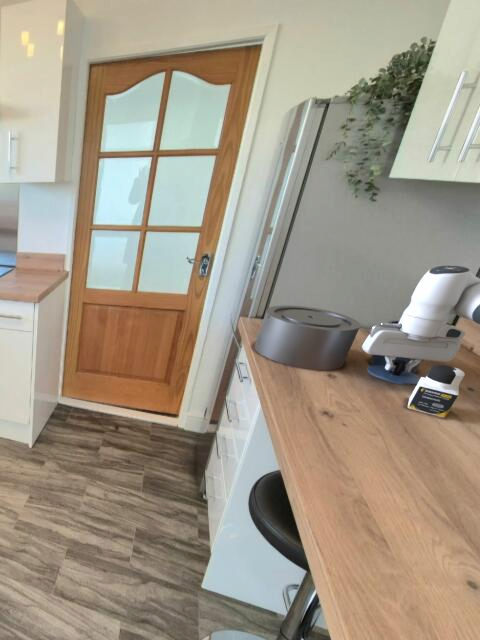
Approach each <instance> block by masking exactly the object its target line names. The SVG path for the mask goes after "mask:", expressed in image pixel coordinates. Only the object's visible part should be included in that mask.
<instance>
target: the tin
mask: <svg viewBox="0 0 480 640" xmlns="http://www.w3.org/2000/svg"><path fill="white" fill-rule="evenodd" d="M399 321H400V320H389V321H388V322H387V323H389V324H398V323H399ZM396 360H402V361H405V362H406V364H407V363H409V362H410V361H411V359H410V358H402V357H396V359H395V360H392V362H393V364H394V363H395V361H396ZM422 361H423V360H421V362H420V363H419V364H418V365H416V366H414V367H412V369H411V371H410V372H412V373H414V374H416V372H417V371H418V369H419V368H420V366H421V364H422ZM369 364H371V366H372V365H383V366H386V364H387V363H386V359H385V356H382V355H372V354H371V357H370V360H369Z"/></svg>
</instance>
